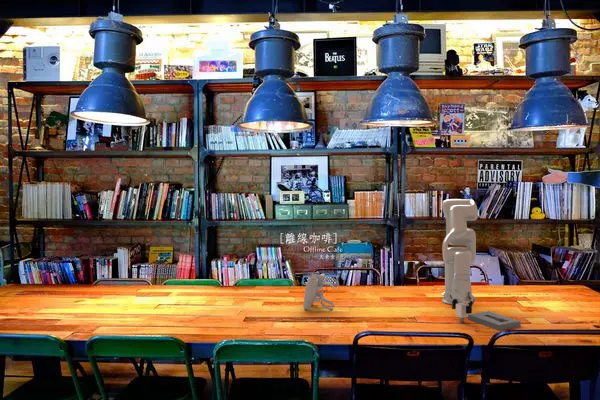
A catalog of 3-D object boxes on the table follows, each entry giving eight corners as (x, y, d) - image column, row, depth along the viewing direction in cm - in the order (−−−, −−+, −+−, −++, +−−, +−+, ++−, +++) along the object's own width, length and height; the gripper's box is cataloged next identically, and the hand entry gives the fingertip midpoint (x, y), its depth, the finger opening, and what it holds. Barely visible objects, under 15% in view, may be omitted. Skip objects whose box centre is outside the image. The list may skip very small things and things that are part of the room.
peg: (455, 321, 250) (455, 303, 249) (461, 320, 252) (462, 302, 251) (461, 323, 246) (461, 305, 246) (467, 322, 248) (467, 304, 247)
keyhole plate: (468, 319, 253) (468, 314, 253) (489, 315, 259) (489, 311, 259) (498, 330, 235) (498, 324, 235) (520, 326, 241) (520, 321, 241)
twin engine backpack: (331, 318, 269) (339, 282, 267) (297, 308, 272) (306, 273, 270) (335, 309, 286) (343, 276, 284) (304, 300, 289) (312, 267, 287)
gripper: (444, 274, 254) (444, 307, 255) (468, 280, 238) (468, 316, 239) (455, 273, 257) (455, 306, 258) (480, 279, 241) (480, 314, 242)
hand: (461, 311), depth 248 cm, fingers open, 9 cm apart
